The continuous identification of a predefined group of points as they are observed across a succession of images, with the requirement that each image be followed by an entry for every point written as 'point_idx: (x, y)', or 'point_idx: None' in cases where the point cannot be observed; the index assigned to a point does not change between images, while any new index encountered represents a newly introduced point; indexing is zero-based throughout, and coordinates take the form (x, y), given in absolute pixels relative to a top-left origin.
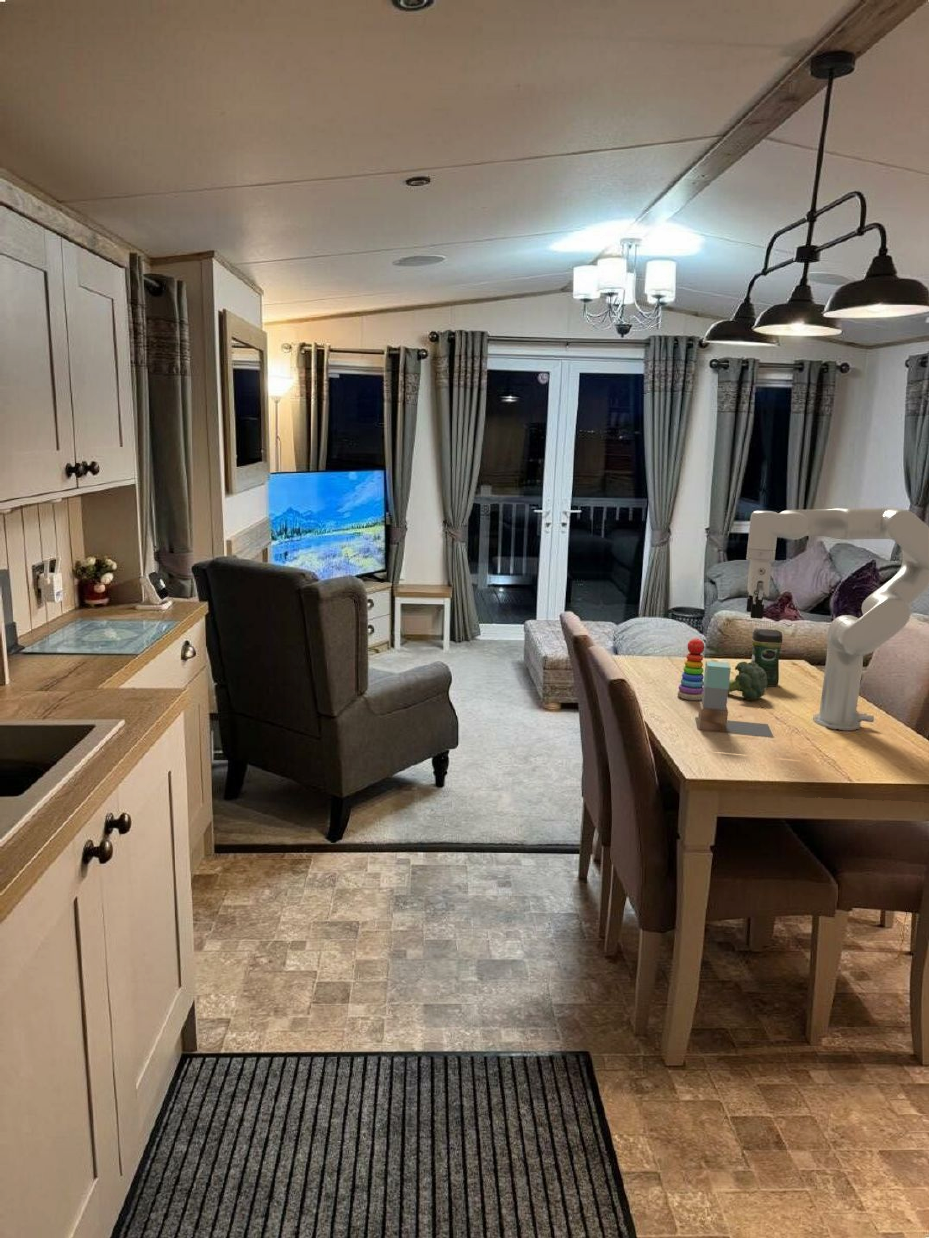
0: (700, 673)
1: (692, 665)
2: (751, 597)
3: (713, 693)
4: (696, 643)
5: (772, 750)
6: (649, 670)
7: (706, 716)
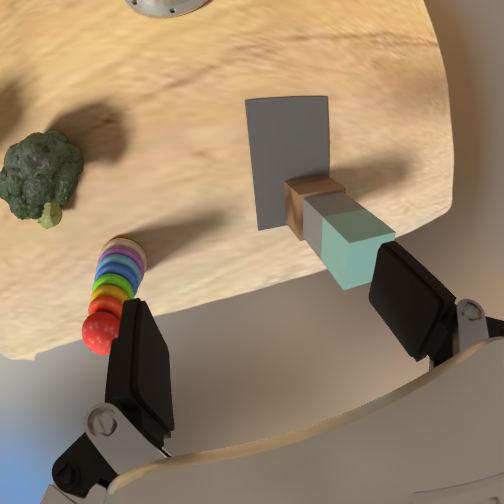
0: (121, 276)
1: None
2: (160, 436)
3: None
4: None
5: (377, 108)
6: (28, 331)
7: None
